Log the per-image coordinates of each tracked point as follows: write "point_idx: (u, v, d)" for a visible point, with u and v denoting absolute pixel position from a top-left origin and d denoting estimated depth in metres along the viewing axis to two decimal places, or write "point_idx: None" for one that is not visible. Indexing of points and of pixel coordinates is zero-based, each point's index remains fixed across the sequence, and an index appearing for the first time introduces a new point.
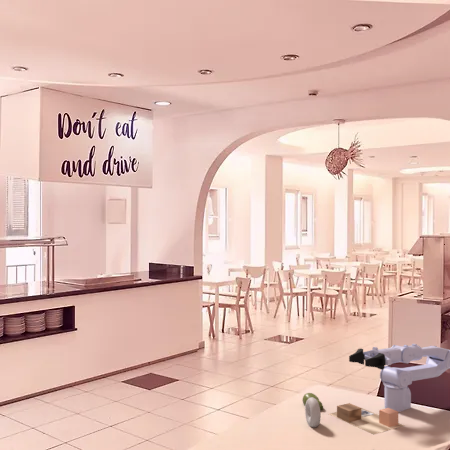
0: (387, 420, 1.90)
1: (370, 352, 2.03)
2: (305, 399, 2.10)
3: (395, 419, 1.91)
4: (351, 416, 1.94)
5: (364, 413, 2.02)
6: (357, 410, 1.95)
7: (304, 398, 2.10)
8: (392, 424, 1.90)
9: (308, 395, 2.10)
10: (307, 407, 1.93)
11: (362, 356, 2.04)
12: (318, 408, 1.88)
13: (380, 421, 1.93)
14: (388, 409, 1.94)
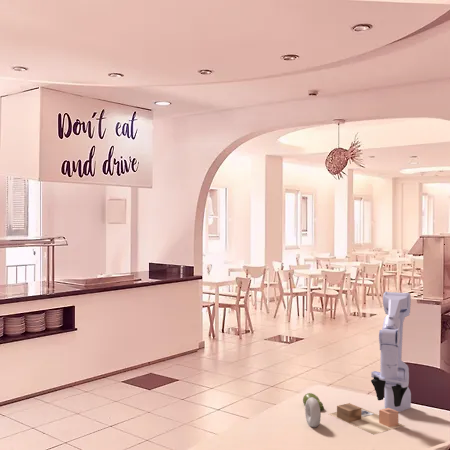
0: (387, 420, 1.90)
1: None
2: (305, 399, 2.09)
3: (395, 419, 1.91)
4: (351, 416, 1.94)
5: (364, 413, 2.02)
6: (357, 410, 1.95)
7: (304, 398, 2.10)
8: (392, 424, 1.90)
9: (308, 395, 2.10)
10: (307, 407, 1.93)
11: (380, 382, 1.95)
12: (318, 408, 1.88)
13: (380, 421, 1.93)
14: (388, 409, 1.94)
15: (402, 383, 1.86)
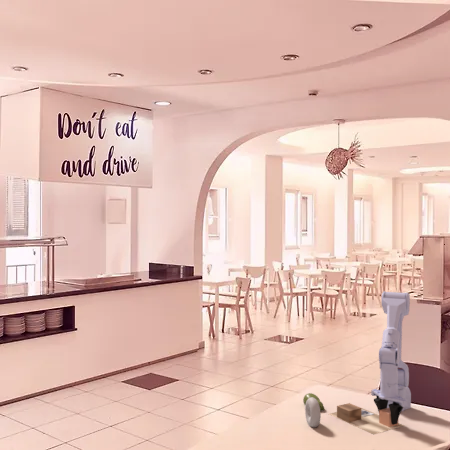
0: (387, 420, 1.90)
1: None
2: (306, 399, 2.09)
3: None
4: (351, 416, 1.94)
5: (364, 413, 2.02)
6: (357, 410, 1.95)
7: (305, 398, 2.10)
8: (392, 424, 1.90)
9: (308, 395, 2.10)
10: (307, 407, 1.93)
11: (383, 401, 1.94)
12: (318, 408, 1.88)
13: (380, 421, 1.93)
14: (388, 409, 1.94)
15: (402, 402, 1.86)
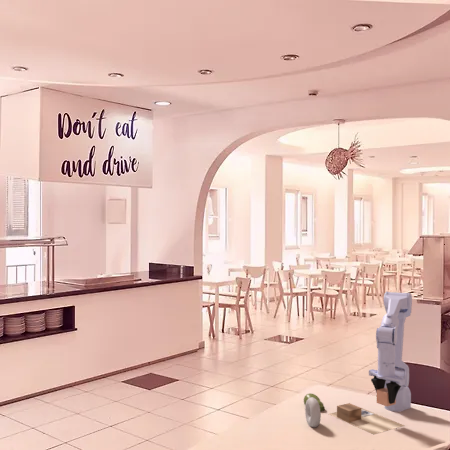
0: (384, 399, 1.90)
1: None
2: (306, 400, 2.09)
3: None
4: (351, 416, 1.94)
5: (364, 413, 2.02)
6: (357, 410, 1.95)
7: (305, 399, 2.10)
8: (389, 403, 1.90)
9: (309, 395, 2.10)
10: (307, 407, 1.93)
11: (380, 381, 1.94)
12: (318, 408, 1.88)
13: (377, 400, 1.93)
14: (385, 389, 1.94)
15: (399, 381, 1.86)
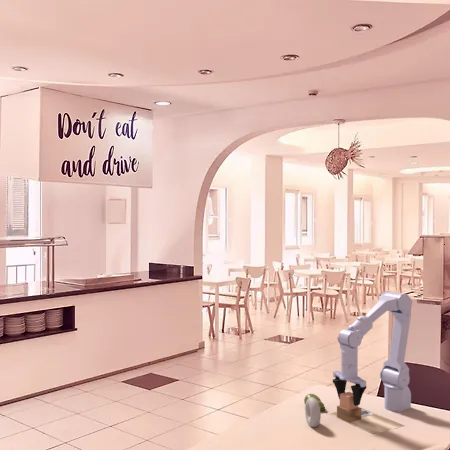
0: (346, 403, 1.95)
1: None
2: None
3: None
4: (351, 416, 1.94)
5: (364, 413, 2.02)
6: (357, 410, 1.95)
7: (306, 399, 2.09)
8: (352, 407, 1.95)
9: (309, 395, 2.09)
10: (307, 407, 1.93)
11: (341, 381, 2.00)
12: (318, 408, 1.88)
13: (340, 404, 1.98)
14: (348, 393, 1.99)
15: (361, 383, 1.91)
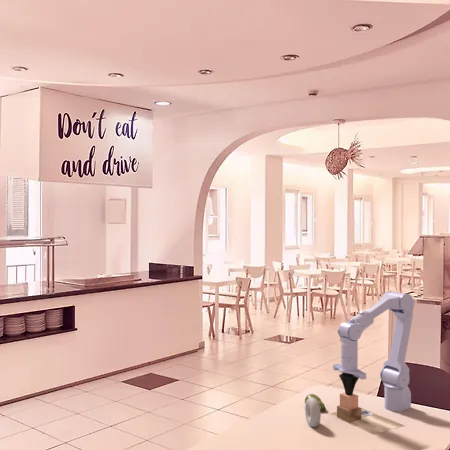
0: (346, 403, 1.95)
1: None
2: None
3: (355, 402, 1.96)
4: (351, 416, 1.94)
5: (364, 413, 2.02)
6: (357, 410, 1.95)
7: (306, 399, 2.09)
8: (352, 407, 1.95)
9: (310, 396, 2.09)
10: (307, 407, 1.93)
11: None
12: (318, 408, 1.88)
13: (340, 404, 1.98)
14: None
15: (361, 375, 1.91)
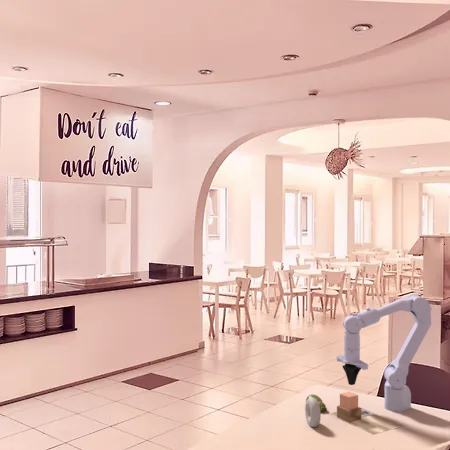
0: (346, 403, 1.95)
1: None
2: None
3: (355, 402, 1.96)
4: (351, 416, 1.94)
5: (364, 413, 2.02)
6: (357, 410, 1.95)
7: None
8: (352, 407, 1.95)
9: (311, 396, 2.09)
10: (307, 407, 1.93)
11: None
12: (318, 408, 1.88)
13: (340, 404, 1.98)
14: (348, 393, 1.99)
15: (363, 365, 2.02)
